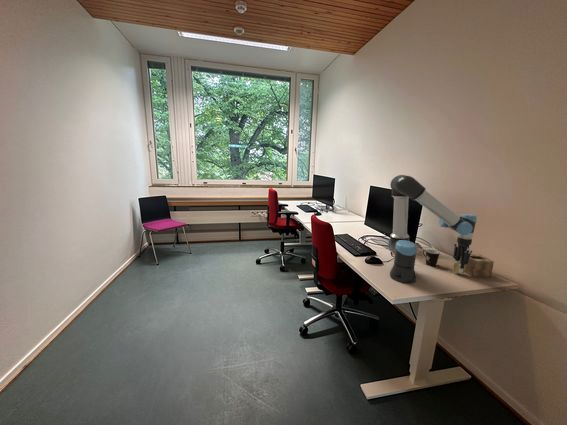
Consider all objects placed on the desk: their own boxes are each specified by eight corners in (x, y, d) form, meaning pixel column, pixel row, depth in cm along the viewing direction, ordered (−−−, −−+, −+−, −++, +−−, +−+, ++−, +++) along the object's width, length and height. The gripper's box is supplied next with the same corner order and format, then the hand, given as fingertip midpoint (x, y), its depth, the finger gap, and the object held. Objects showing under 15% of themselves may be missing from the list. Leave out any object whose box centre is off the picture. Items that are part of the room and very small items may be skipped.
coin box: (471, 276, 152) (474, 260, 150) (459, 268, 163) (461, 253, 161) (490, 277, 151) (493, 261, 149) (476, 269, 163) (479, 254, 161)
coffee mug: (440, 267, 165) (442, 254, 163) (426, 266, 166) (428, 253, 164) (433, 261, 176) (434, 248, 174) (420, 260, 178) (422, 247, 176)
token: (456, 272, 154) (457, 264, 152) (453, 270, 156) (454, 262, 155) (464, 273, 153) (465, 264, 152) (460, 271, 156) (462, 262, 155)
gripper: (480, 242, 142) (472, 277, 147) (462, 234, 158) (455, 266, 162) (467, 241, 142) (460, 276, 147) (450, 233, 158) (444, 265, 163)
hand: (458, 271), depth 155 cm, fingers closed on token, 3 cm apart
